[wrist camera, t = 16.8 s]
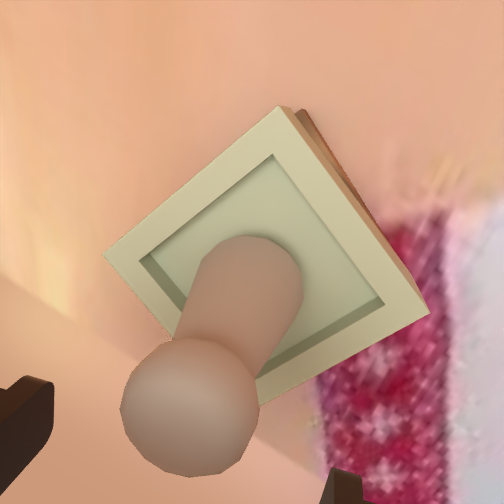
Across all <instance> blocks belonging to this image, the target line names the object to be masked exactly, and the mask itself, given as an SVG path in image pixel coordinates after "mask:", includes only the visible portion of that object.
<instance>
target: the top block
mask: <svg viewBox="0 0 504 504" xmlns="http://www.w3.org/2000/svg"><path fill="white" fill-rule="evenodd" d="M241 235H249V236H256V237H262V238H268V239H270V240H271V241H273V242H274V243H276V244H277V245H279V246H280V247H282V248H283V249H285V250H287V251H288V252H289V253H290V255H291V257H292V258H293V260H294V261H295V263H296V265H297V266H298V268H299V269H300V271H301V275H302V285H303V295H304V300H303V302H302V305H301V307H300V309H299V312H298V314H297V316H296V318H295V320H294V322H293V323H292V325H291V326H290V328H289V329H288V331H287V332H286V333H285V335H284V336H283V338H282V339H281V341H280V342H279V344H278V345H277V347H276V348H275V350H274V351H273V353H272V354H271V356H270V357H269V358H268V360H267V361H266V363H265V364H264V366H263V367H262V369H261V370H260V372H259V373H258V375H257V376H256V378H255V383H256V389H257V395H258V402H259V406H261V405H263V404H265V403H267V402H269V401H270V400H272V399H274V398H276V397H278V396H280V395H281V394H283V393H285V392H287V391H289V390H290V389H292V388H294V387H296V386H298V385H300V384H301V383H303V382H305V381H307V380H309V379H311V378H312V377H314V376H316V375H318V374H320V373H321V372H323V371H325V370H327V369H329V368H331V367H332V366H334V365H336V364H338V363H340V362H342V361H343V360H345V359H347V358H349V357H351V356H352V355H354V354H356V353H358V352H360V351H362V350H363V349H365V348H367V347H369V346H371V345H373V344H374V343H376V342H378V341H380V340H382V339H383V338H385V337H387V336H389V335H391V334H393V333H394V332H396V331H398V330H400V329H402V328H404V327H405V326H407V325H409V324H411V323H413V322H414V321H416V320H418V319H420V318H422V317H424V316H425V315H427V314H429V313H430V311H429V309H428V307H427V305H426V303H425V301H424V299H423V297H422V295H421V293H420V291H419V289H418V287H417V285H416V283H415V281H414V279H413V277H412V275H411V274H410V272H409V271H408V269H407V268H406V267H405V265H404V264H403V263H402V261H401V260H400V258H399V257H398V256H397V254H396V253H395V252H394V250H393V249H392V247H391V246H390V245H389V243H388V242H387V241H386V239H385V238H384V236H383V235H382V234H381V232H380V231H379V230H378V228H377V227H376V225H375V224H374V223H373V221H372V220H371V219H370V217H369V216H368V214H367V213H366V212H365V210H364V209H363V208H362V206H361V205H360V203H359V202H358V201H357V199H356V198H355V197H354V195H353V194H352V193H351V191H350V190H349V188H348V187H347V186H346V184H345V183H344V182H343V180H342V179H341V177H340V176H339V175H338V173H337V172H336V171H335V169H334V168H333V166H332V165H331V164H330V162H329V161H328V160H327V158H326V157H325V155H324V154H323V153H322V151H321V150H320V149H319V147H318V146H317V144H316V143H315V142H314V140H313V139H312V138H311V136H310V135H309V133H308V132H307V131H306V129H305V128H304V127H303V125H302V124H301V122H300V121H299V120H298V118H297V117H296V116H295V114H294V113H293V111H292V110H291V109H290V108H288V107H284V106H279V105H278V106H277V107H276V108H275V109H273V110H272V111H271V112H270V113H269V114H268V115H266V116H265V117H264V118H263V119H262V120H260V121H259V122H258V123H257V124H256V125H254V126H253V127H252V128H251V129H250V130H249V131H247V132H246V133H245V134H244V135H243V136H241V137H240V138H239V139H238V140H237V141H236V142H234V143H233V144H232V145H231V146H230V147H228V148H227V149H226V150H225V151H224V152H223V153H221V154H220V155H219V156H218V157H217V158H215V159H214V160H213V161H212V162H211V163H209V164H208V165H207V166H206V167H205V168H204V169H202V170H201V171H200V172H199V173H198V174H196V175H195V176H194V177H193V178H192V179H191V180H189V181H188V182H187V183H186V184H185V185H183V186H182V187H181V188H180V189H179V190H178V191H176V192H175V193H174V194H173V195H172V196H170V197H169V198H168V199H167V200H166V201H164V202H163V203H162V204H161V205H160V206H159V207H157V208H156V209H155V210H154V211H153V212H151V213H150V214H149V215H148V216H147V217H146V218H144V219H143V220H142V221H141V222H140V223H138V224H137V225H136V226H135V227H134V228H133V229H131V230H130V231H129V232H128V233H127V234H125V235H124V236H123V237H122V238H121V239H119V240H118V241H117V242H116V243H115V244H114V245H112V246H111V247H110V248H109V249H108V250H106V251H105V252H104V253H103V254H102V255H103V256H104V258H105V259H106V260H107V261H108V262H109V264H110V265H111V266H112V267H113V268H114V269H115V271H116V272H117V273H118V274H119V275H120V277H121V278H122V279H123V280H124V281H125V282H126V284H127V285H128V286H129V287H130V288H131V289H132V291H133V292H134V293H135V294H136V295H137V297H138V298H139V299H140V300H141V301H142V302H143V304H144V305H145V306H146V307H147V308H148V310H149V311H150V312H151V313H152V314H153V315H154V317H155V318H156V319H157V320H158V321H159V323H160V324H161V325H162V326H163V327H164V328H165V330H166V331H167V332H168V333H169V334H170V335H171V337H172V338H173V336H174V333H175V330H176V328H177V325H178V322H179V320H180V317H181V314H182V311H183V309H184V306H185V303H186V300H187V298H188V295H189V292H190V289H191V287H192V284H193V281H194V279H195V276H196V273H197V270H198V268H199V265H200V262H201V259H202V258H203V257H204V256H205V255H207V254H208V253H209V252H210V251H211V250H212V249H213V248H214V247H215V246H216V245H217V244H218V243H220V242H222V241H225V240H228V239H231V238H234V237H238V236H241Z"/></svg>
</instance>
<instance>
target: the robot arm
mask: <svg viewBox="0 0 504 504" xmlns="http://www.w3.org/2000/svg"><path fill="white" fill-rule="evenodd" d="M53 423H54V385H53V383H52V382H49V381H45V380H42V379H38V378H35V377H32V376H28V375H27V376H23V377H22V378H20V379H19V380H18V381H17V382H15V383H14V384H13V385H12V386H11V387H9V388H8V389H7V390H5V389H2V388H0V495H1V494H2V493H3V492H4V491H5V490H6V489H7V487H8V486H9V485H10V484H11V483H12V482H13V481H14V480H15V478H16V477H17V476H18V475H19V474H20V473H21V472H22V471H23V470H24V468H25V467H26V466H27V465H28V464H29V463H30V462H31V461H32V459H33V458H34V457H35V456H36V455H37V454H38V452H39V451H40V450H41V449H42V448H43V447H44V445H45V444H46V442H47V441H48V439H49V437H50V435H51V432H52V429H53ZM319 504H375V503H371V502H368V501H365V500H363V488H362V479H361V476H360V475H356V474H353V473H350V472H346V471H343V470H340V469H336V468H333V467H332V468H331V470H330V473H329V476H328V479H327V482H326V485H325V488H324V491H323V494H322V497H321V500H320V503H319Z"/></svg>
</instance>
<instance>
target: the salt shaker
mask: <svg viewBox="0 0 504 504" xmlns="http://www.w3.org/2000/svg"><path fill="white" fill-rule="evenodd" d="M303 300H304V295H303V285H302V275H301V271H300V269H299V268H298V266H297V265H296V263H295V261H294V260H293V258H292V257H291V255H290V253H289V252H288V251H287V250H285V249H283V248H282V247H280V246H279V245H277V244H276V243H274V242H273V241H271V240H270V239H268V238H262V237H256V236H249V235H241V236H238V237H234V238H231V239H228V240H225V241H222V242H220V243H218V244H217V245H216V246H215V247H214V248H213V249H212V250H211V251H210V252H209V253H208V254H207V255H205V256H204V257H203V258H202V259H201V262H200V265H199V268H198V270H197V273H196V276H195V279H194V281H193V284H192V287H191V289H190V292H189V295H188V298H187V300H186V303H185V306H184V309H183V311H182V314H181V317H180V320H179V322H178V325H177V328H176V330H175V333H174V336H173V339H172V341H170V342H166V343H164V344H161V345H159V346H158V347H157V348H156V349H155V350H154V351H153V352H152V353H150V354H149V355H148V356H147V357H146V358H145V359H144V360H143V361H142V362H141V363H140V364H139V365H138V366H137V367H136V368H135V369H134V370H133V371H132V373H131V375H130V377H129V380H128V382H127V384H126V386H125V389H124V393H123V398H122V401H121V406H120V413H121V416H122V421H123V425H124V428H125V432H126V435H127V436H128V438H129V440H130V441H131V442H132V443H133V445H134V446H135V447H136V448H137V450H138V451H139V452H140V453H141V455H142V456H143V457H144V458H145V459H146V460H148V461H149V462H151V463H152V464H154V465H156V466H157V467H159V468H160V469H162V470H163V471H165V472H168V473H172V474H176V475H180V476H185V477H197V476H207V475H214V474H220V473H222V472H223V471H225V470H226V469H228V468H229V467H231V466H232V465H233V464H235V463H237V462H238V461H239V460H240V459H241V457H242V455H243V453H244V451H245V449H246V447H247V445H248V443H249V441H250V439H251V437H252V434H253V432H254V430H255V428H256V425H257V422H258V417H259V411H260V408H259V402H258V395H257V389H256V383H255V378H256V376H257V375H258V373H259V372H260V370H261V369H262V367H263V366H264V364H265V363H266V361H267V360H268V358H269V357H270V356H271V354H272V353H273V351H274V350H275V348H276V347H277V345H278V344H279V342H280V341H281V339H282V338H283V336H284V335H285V333H286V332H287V331H288V329H289V328H290V326H291V325H292V323H293V322H294V320H295V318H296V316H297V314H298V312H299V309H300V307H301V305H302V302H303Z"/></svg>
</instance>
